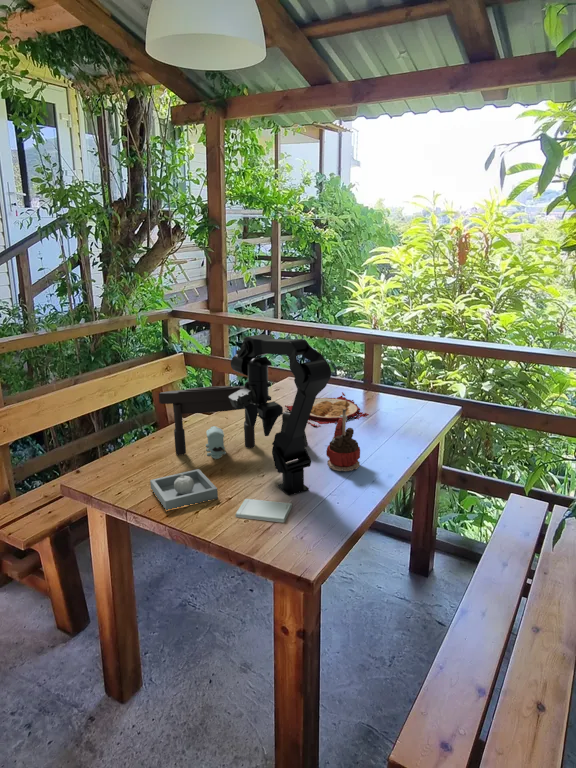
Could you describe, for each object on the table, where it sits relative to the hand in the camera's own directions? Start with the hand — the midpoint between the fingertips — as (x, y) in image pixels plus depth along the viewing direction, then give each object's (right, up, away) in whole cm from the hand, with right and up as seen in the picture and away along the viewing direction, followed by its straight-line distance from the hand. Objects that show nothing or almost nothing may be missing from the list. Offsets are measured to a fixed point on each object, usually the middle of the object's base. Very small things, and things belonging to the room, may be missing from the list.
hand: (259, 430), depth 159 cm
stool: (-15, -8, +18) cm, 25 cm away
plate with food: (+24, +2, +52) cm, 58 cm away
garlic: (-20, -16, -12) cm, 28 cm away
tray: (-20, -16, -12) cm, 28 cm away
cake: (+25, -11, +4) cm, 27 cm away
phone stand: (+10, -7, +18) cm, 22 cm away
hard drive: (+2, -19, -21) cm, 29 cm away
